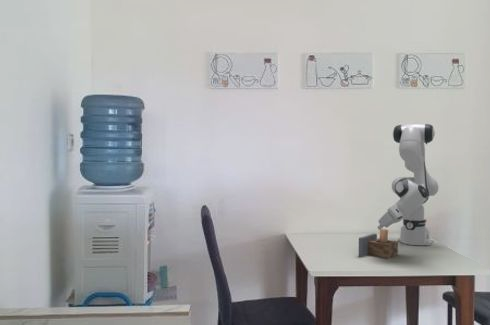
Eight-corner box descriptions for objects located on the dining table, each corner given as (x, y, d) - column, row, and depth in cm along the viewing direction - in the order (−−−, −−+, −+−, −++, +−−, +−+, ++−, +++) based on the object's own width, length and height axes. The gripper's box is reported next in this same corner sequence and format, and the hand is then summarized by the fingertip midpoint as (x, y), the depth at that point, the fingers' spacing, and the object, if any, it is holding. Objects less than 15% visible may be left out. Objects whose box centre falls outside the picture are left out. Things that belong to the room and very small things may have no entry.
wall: (373, 251, 234) (373, 233, 234) (376, 252, 233) (376, 233, 232) (358, 257, 222) (358, 237, 222) (362, 257, 221) (362, 238, 221)
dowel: (381, 249, 229) (382, 229, 229) (388, 251, 226) (389, 230, 226) (377, 250, 226) (378, 229, 226) (385, 251, 223) (385, 230, 223)
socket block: (377, 251, 234) (378, 238, 234) (397, 254, 226) (397, 241, 226) (368, 254, 226) (368, 241, 226) (388, 258, 218) (388, 245, 218)
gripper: (405, 204, 228) (387, 220, 235) (387, 208, 213) (369, 225, 220) (413, 213, 225) (394, 229, 232) (396, 218, 210) (377, 235, 217)
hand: (382, 227), depth 226 cm, fingers open, 6 cm apart
